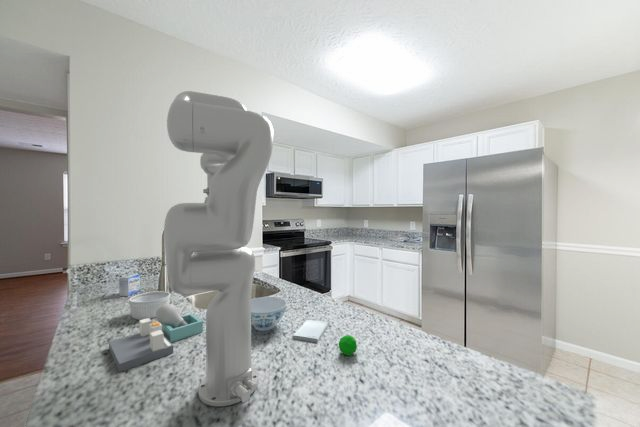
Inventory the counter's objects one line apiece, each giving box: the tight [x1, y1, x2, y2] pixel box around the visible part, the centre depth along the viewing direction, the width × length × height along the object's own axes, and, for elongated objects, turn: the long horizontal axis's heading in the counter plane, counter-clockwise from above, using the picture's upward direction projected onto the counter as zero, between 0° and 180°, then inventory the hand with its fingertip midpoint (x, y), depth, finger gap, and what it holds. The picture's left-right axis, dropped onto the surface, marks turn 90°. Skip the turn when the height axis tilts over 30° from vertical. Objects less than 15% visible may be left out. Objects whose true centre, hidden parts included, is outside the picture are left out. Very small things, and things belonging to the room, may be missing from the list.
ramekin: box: [128, 290, 171, 320], centre depth 99 cm, size 13×13×7 cm
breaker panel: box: [108, 318, 174, 373], centre depth 73 cm, size 16×12×6 cm
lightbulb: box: [155, 303, 188, 328], centre depth 84 cm, size 6×6×11 cm
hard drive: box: [292, 319, 330, 343], centre depth 85 cm, size 2×8×12 cm
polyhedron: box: [338, 334, 358, 356], centre depth 71 cm, size 5×5×5 cm
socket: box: [160, 313, 204, 343], centre depth 84 cm, size 10×10×4 cm
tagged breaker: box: [149, 321, 162, 338], centre depth 76 cm, size 3×2×4 cm
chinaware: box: [251, 296, 288, 332], centre depth 88 cm, size 15×15×8 cm
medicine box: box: [118, 273, 141, 297], centre depth 124 cm, size 8×4×9 cm, turn 179°
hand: (219, 244), depth 87 cm, fingers open, 9 cm apart
